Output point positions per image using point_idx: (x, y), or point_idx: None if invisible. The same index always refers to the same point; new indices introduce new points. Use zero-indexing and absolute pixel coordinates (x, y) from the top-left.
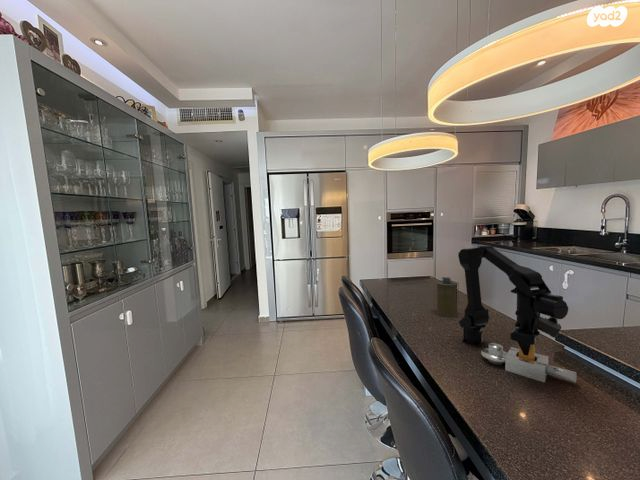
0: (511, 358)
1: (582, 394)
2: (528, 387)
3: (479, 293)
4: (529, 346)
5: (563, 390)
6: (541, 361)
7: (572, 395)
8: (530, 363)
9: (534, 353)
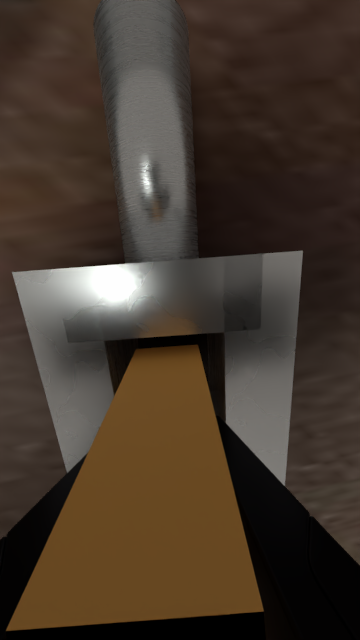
0: (283, 470)
1: (252, 43)
2: (355, 307)
3: None
4: (349, 564)
5: (274, 154)
6: (184, 299)
7: (305, 99)
8: (292, 359)
9: (143, 384)
